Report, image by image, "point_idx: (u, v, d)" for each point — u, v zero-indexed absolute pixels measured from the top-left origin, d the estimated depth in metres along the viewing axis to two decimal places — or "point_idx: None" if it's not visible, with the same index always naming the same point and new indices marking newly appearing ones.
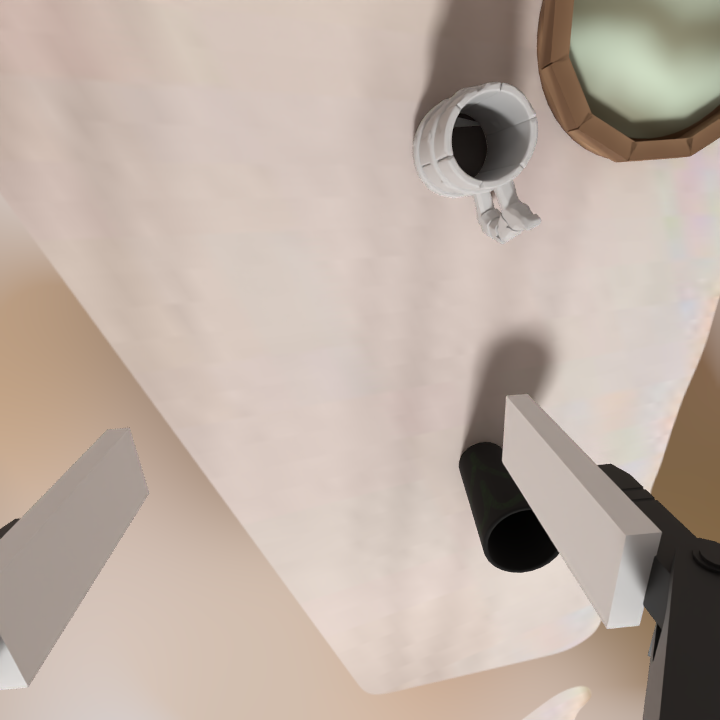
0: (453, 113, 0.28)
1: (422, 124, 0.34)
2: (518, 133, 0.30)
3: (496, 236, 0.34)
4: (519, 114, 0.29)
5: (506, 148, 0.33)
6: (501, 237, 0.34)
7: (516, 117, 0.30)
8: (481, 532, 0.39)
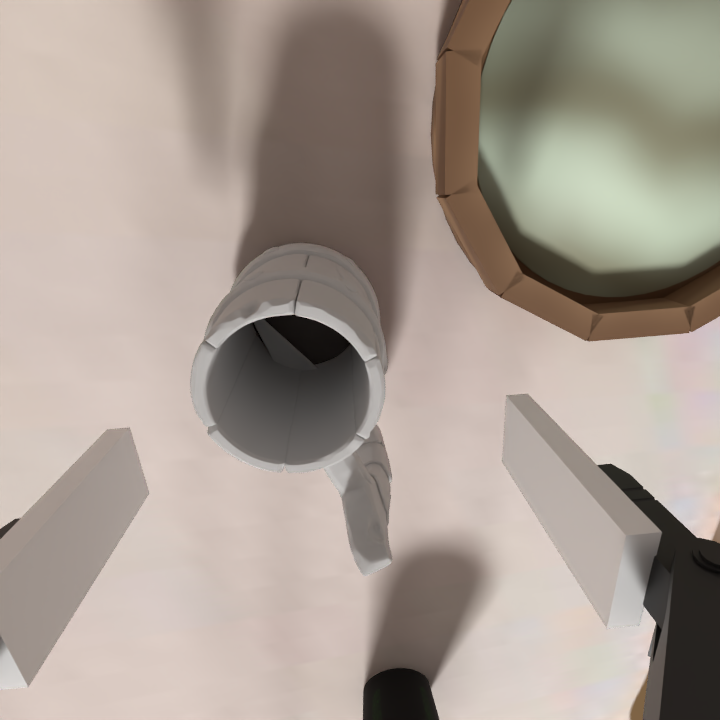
0: (200, 358, 0.13)
1: (232, 291, 0.20)
2: None
3: None
4: None
5: None
6: None
7: None
8: None
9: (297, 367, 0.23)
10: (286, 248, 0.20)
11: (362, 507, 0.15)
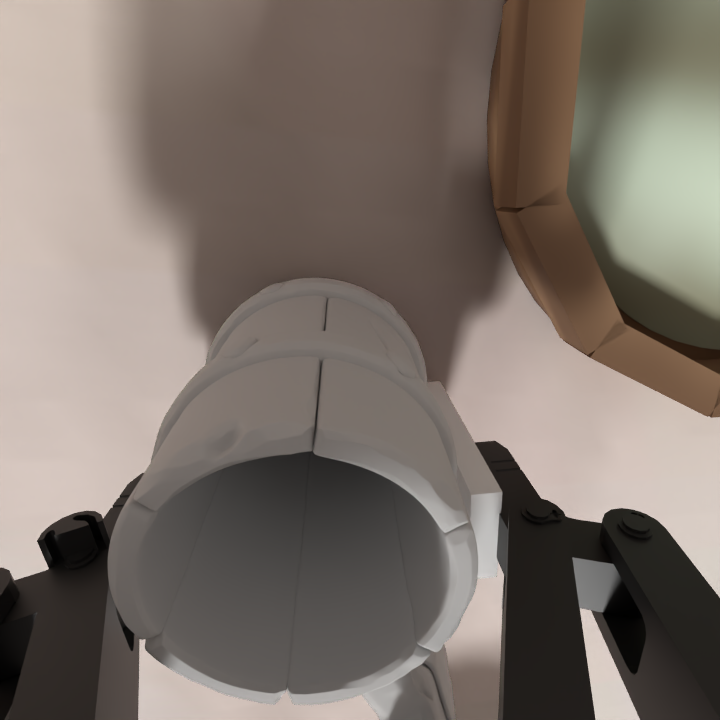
0: (123, 531, 0.07)
1: (212, 348, 0.14)
2: None
3: None
4: None
5: None
6: None
7: None
8: None
9: None
10: (295, 286, 0.13)
11: None
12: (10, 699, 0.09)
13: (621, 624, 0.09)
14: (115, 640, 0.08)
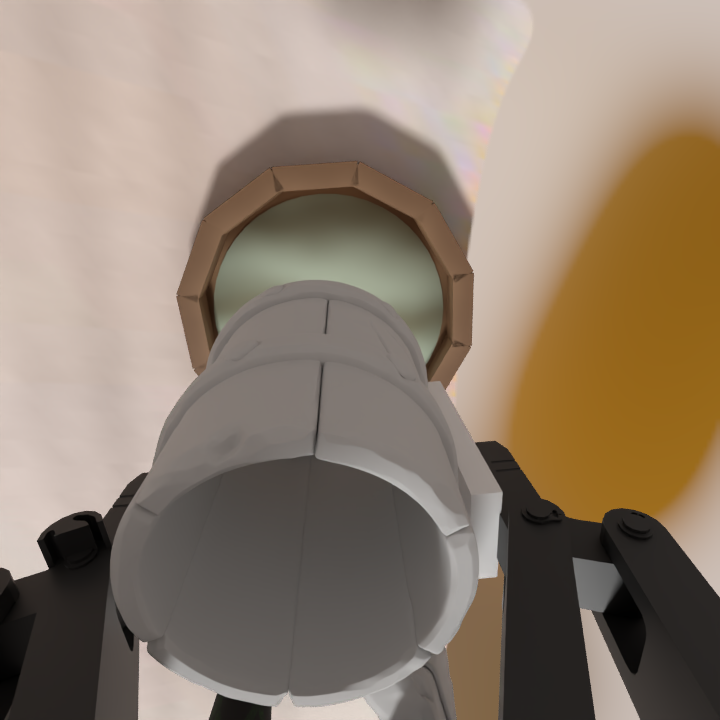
0: (126, 534, 0.07)
1: (213, 349, 0.14)
2: None
3: None
4: None
5: None
6: None
7: None
8: None
9: None
10: (295, 289, 0.13)
11: None
12: (10, 699, 0.09)
13: (621, 624, 0.09)
14: (115, 640, 0.08)
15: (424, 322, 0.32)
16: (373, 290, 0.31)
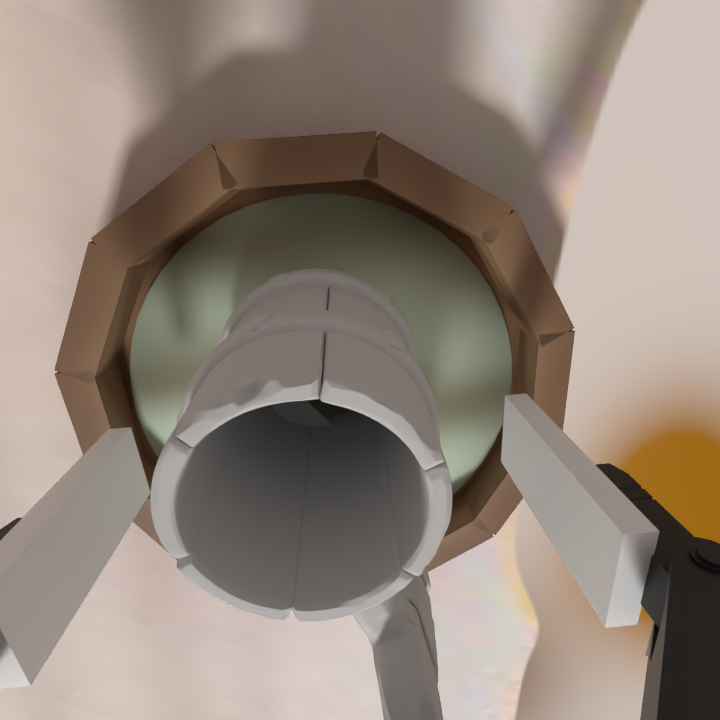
0: (166, 462, 0.08)
1: (225, 329, 0.15)
2: None
3: None
4: None
5: None
6: None
7: None
8: None
9: (306, 423, 0.18)
10: (300, 275, 0.15)
11: (406, 675, 0.10)
12: None
13: None
14: None
15: (480, 403, 0.19)
16: None
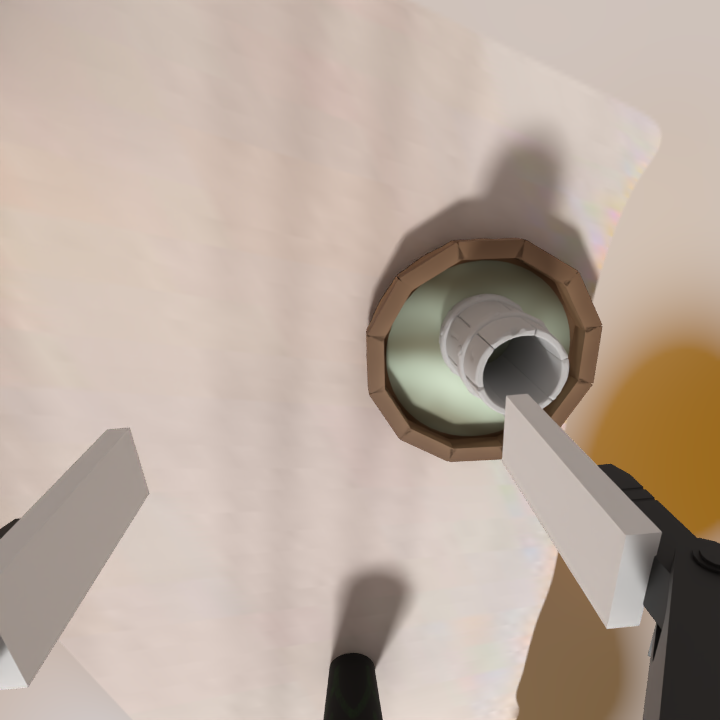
0: (486, 352, 0.28)
1: (450, 319, 0.35)
2: (548, 358, 0.30)
3: None
4: (551, 348, 0.29)
5: (533, 358, 0.33)
6: None
7: (547, 346, 0.30)
8: None
9: None
10: (486, 297, 0.34)
11: None
12: None
13: None
14: None
15: None
16: None
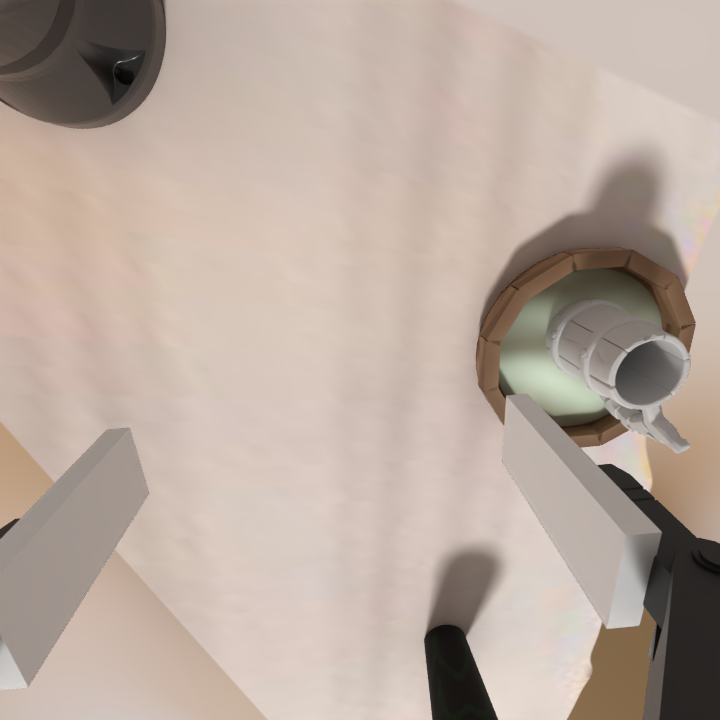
0: (621, 356, 0.32)
1: (563, 323, 0.39)
2: (664, 357, 0.34)
3: (626, 424, 0.39)
4: (671, 349, 0.33)
5: (643, 356, 0.37)
6: (633, 428, 0.38)
7: (665, 347, 0.34)
8: None
9: None
10: (596, 302, 0.38)
11: (668, 425, 0.34)
12: None
13: None
14: None
15: None
16: None
